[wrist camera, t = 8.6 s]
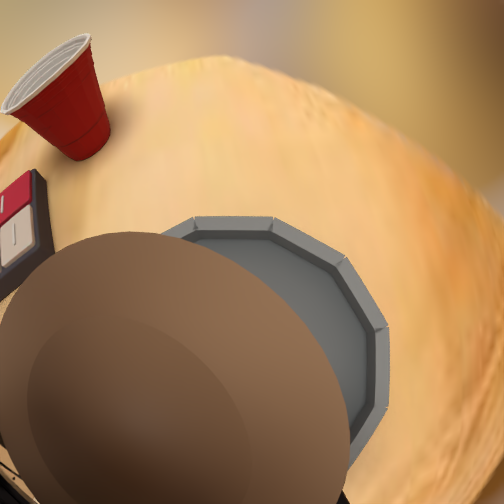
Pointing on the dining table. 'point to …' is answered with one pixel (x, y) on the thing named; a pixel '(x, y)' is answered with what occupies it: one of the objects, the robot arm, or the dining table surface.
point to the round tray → (313, 304)
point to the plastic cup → (63, 100)
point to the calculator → (23, 230)
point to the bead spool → (165, 382)
